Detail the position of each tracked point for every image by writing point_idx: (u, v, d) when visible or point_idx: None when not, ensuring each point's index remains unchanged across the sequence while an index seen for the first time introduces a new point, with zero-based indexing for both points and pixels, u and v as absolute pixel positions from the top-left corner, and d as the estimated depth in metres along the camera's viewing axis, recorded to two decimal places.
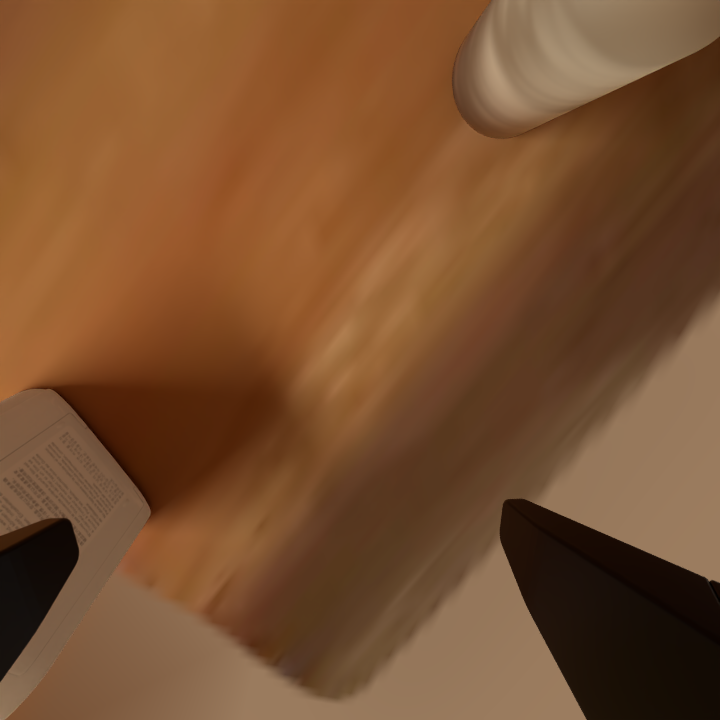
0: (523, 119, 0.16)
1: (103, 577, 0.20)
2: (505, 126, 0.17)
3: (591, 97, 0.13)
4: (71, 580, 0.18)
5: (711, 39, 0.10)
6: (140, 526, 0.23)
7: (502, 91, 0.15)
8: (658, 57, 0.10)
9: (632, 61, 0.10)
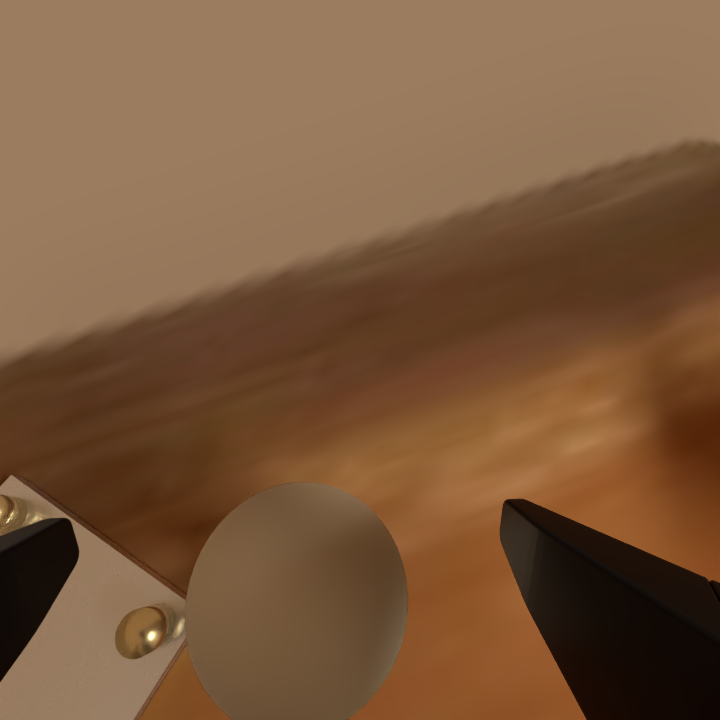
0: None
1: None
2: None
3: None
4: None
5: (300, 484, 0.10)
6: None
7: None
8: (351, 499, 0.10)
9: (372, 511, 0.10)
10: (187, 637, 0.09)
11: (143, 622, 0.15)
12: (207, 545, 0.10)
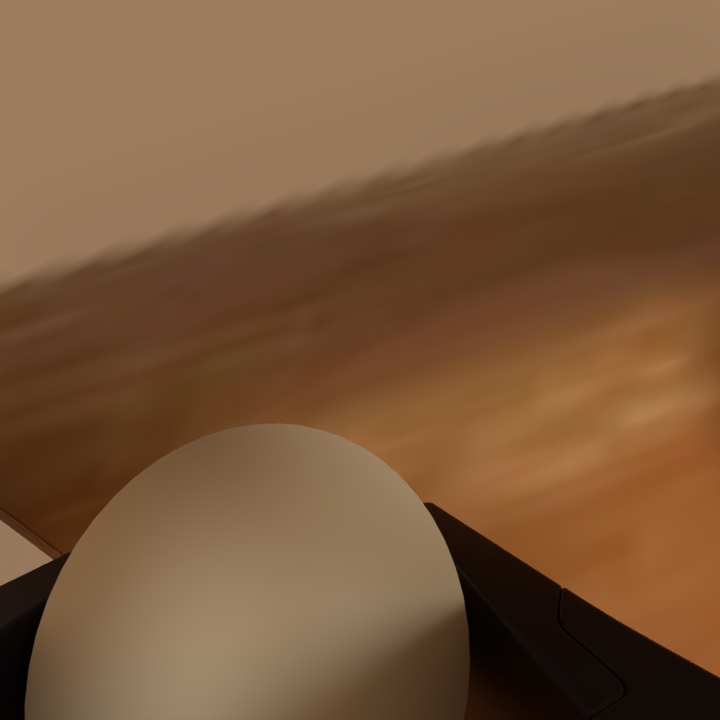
0: None
1: None
2: None
3: None
4: None
5: (267, 427, 0.06)
6: None
7: None
8: (357, 454, 0.06)
9: (396, 473, 0.06)
10: None
11: None
12: (88, 535, 0.05)
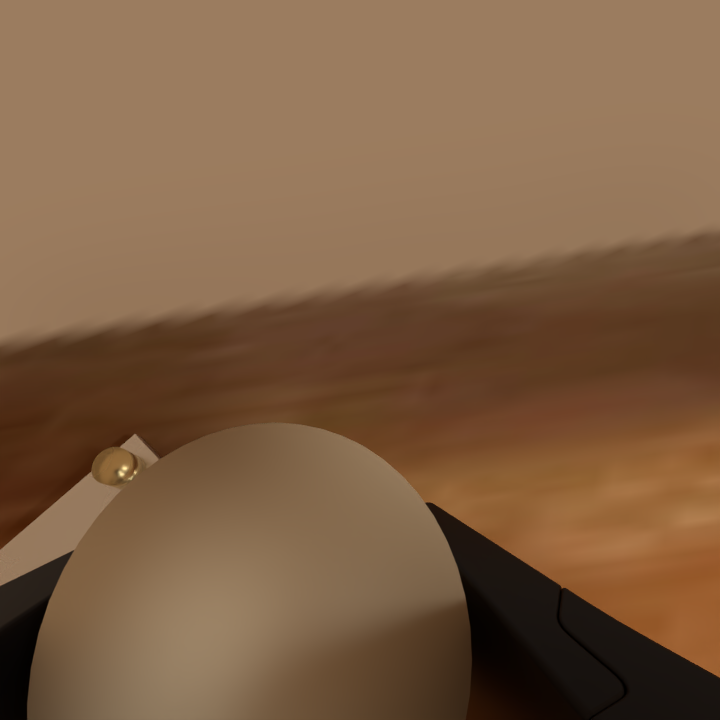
0: None
1: None
2: None
3: None
4: None
5: (269, 427, 0.06)
6: None
7: None
8: (360, 453, 0.06)
9: (398, 474, 0.06)
10: None
11: None
12: (90, 534, 0.05)
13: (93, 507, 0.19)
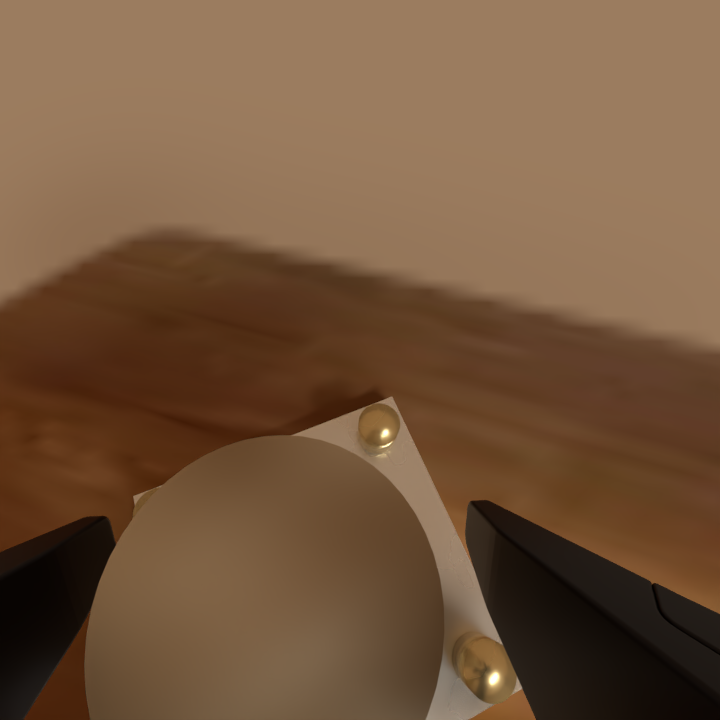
0: None
1: None
2: None
3: None
4: None
5: (277, 439, 0.07)
6: None
7: None
8: (353, 460, 0.07)
9: (385, 477, 0.07)
10: (87, 677, 0.05)
11: (499, 663, 0.13)
12: (130, 528, 0.06)
13: None
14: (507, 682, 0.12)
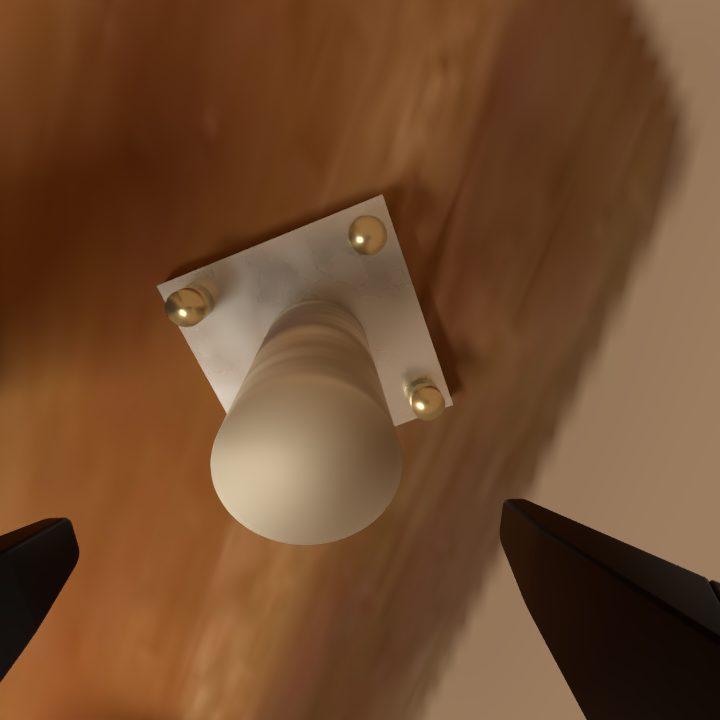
0: None
1: None
2: None
3: None
4: None
5: (400, 462, 0.11)
6: None
7: None
8: (384, 504, 0.11)
9: (374, 517, 0.12)
10: (272, 388, 0.10)
11: None
12: (347, 393, 0.10)
13: (407, 360, 0.21)
14: None
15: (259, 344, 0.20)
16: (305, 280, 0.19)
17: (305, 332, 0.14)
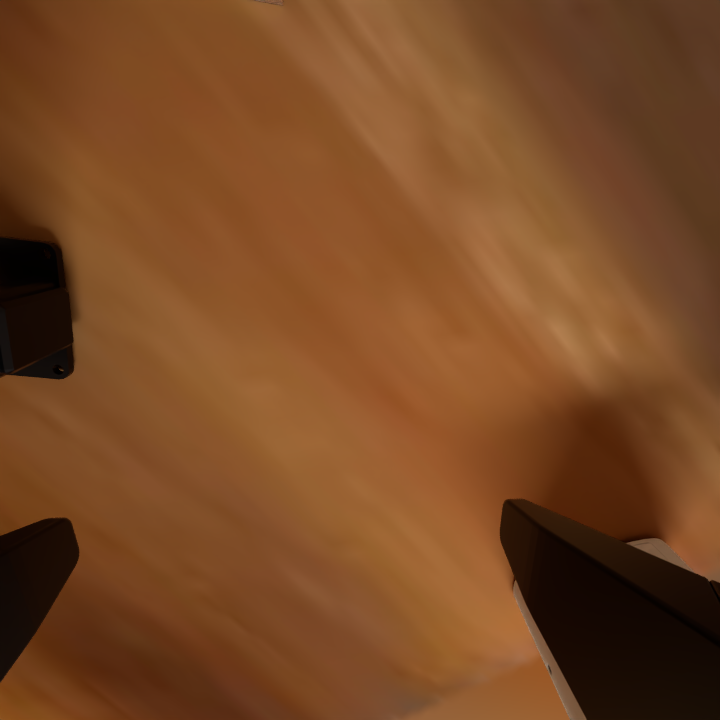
0: None
1: None
2: None
3: None
4: None
5: None
6: (675, 555, 0.25)
7: None
8: None
9: None
10: None
11: None
12: None
13: None
14: None
15: None
16: None
17: None
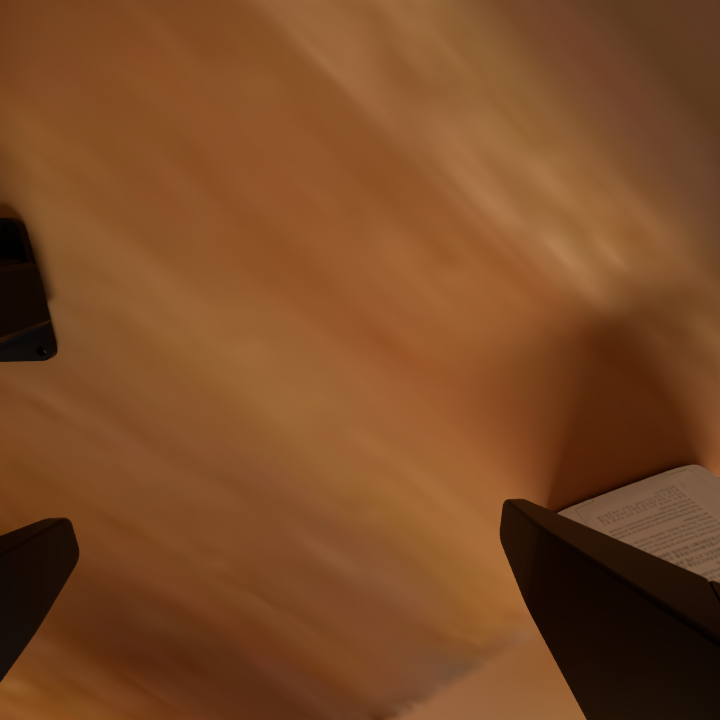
0: None
1: None
2: None
3: None
4: None
5: None
6: (716, 478, 0.23)
7: None
8: None
9: None
10: None
11: None
12: None
13: None
14: None
15: None
16: None
17: None
